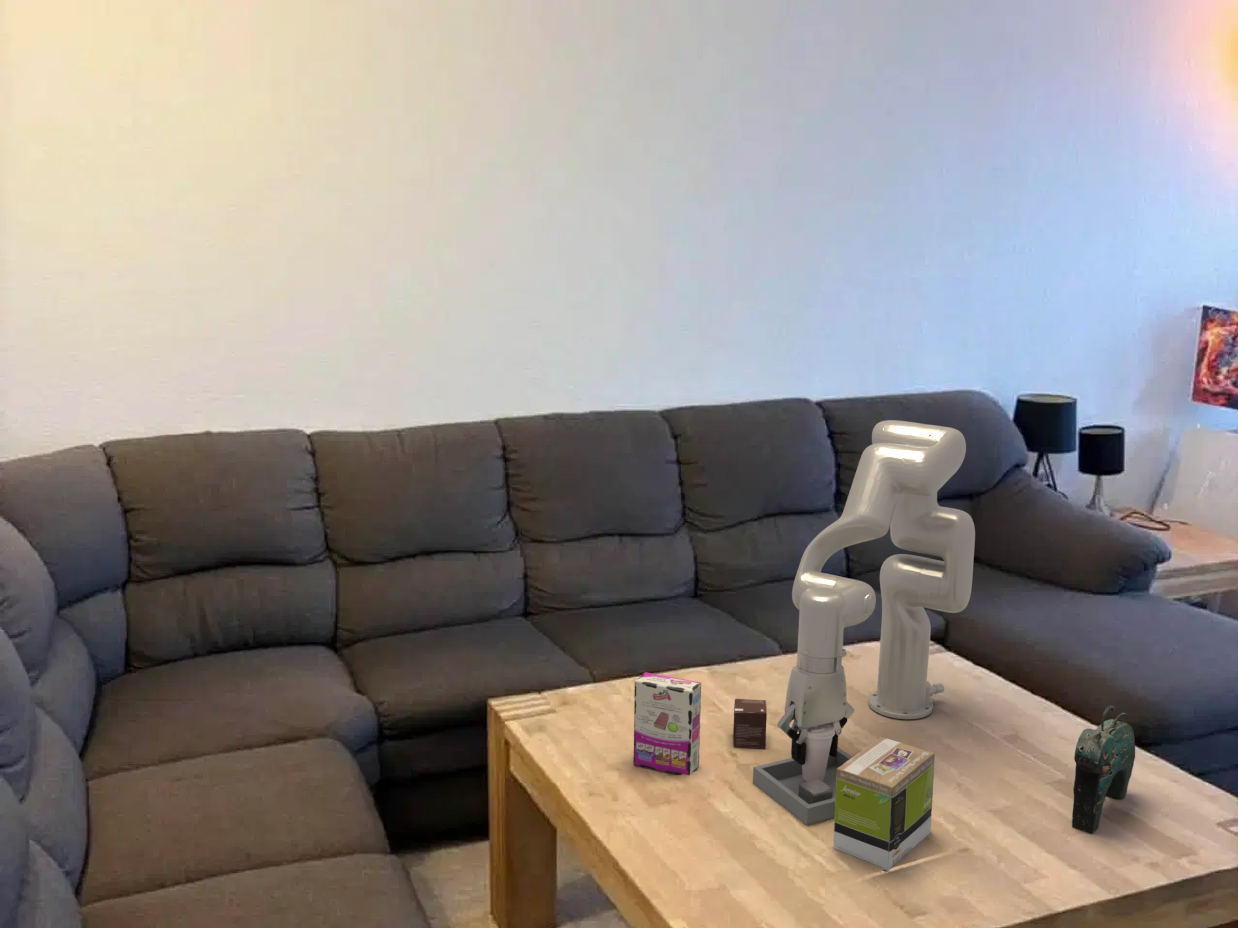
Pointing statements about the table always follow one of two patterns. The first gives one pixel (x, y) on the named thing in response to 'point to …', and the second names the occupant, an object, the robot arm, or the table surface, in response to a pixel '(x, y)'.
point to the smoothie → (817, 751)
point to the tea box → (883, 801)
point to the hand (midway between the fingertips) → (814, 756)
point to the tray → (784, 787)
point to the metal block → (815, 791)
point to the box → (749, 723)
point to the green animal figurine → (1101, 769)
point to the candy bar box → (667, 724)
